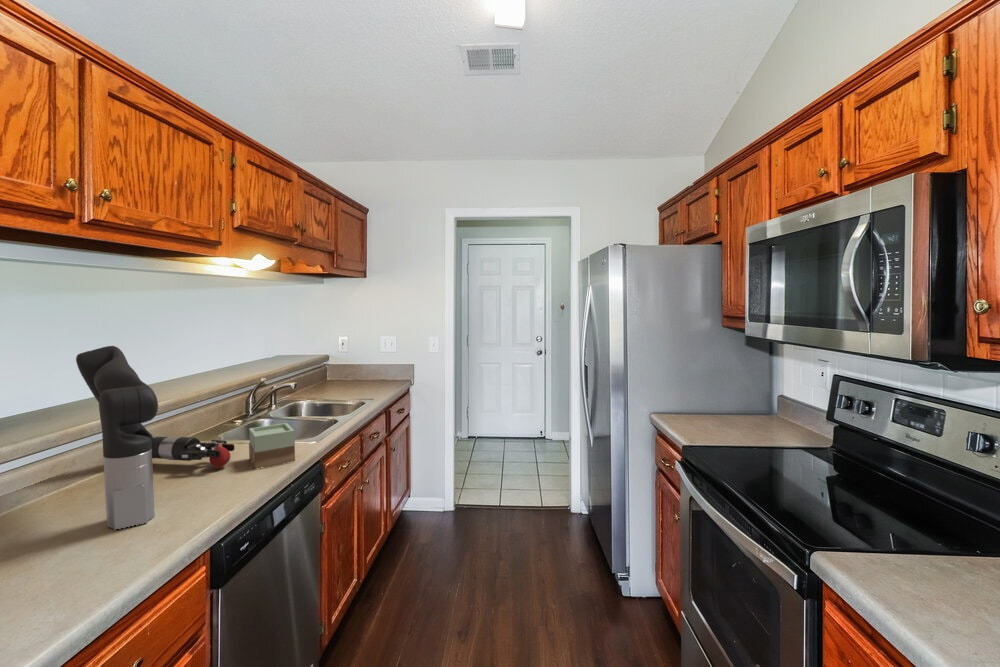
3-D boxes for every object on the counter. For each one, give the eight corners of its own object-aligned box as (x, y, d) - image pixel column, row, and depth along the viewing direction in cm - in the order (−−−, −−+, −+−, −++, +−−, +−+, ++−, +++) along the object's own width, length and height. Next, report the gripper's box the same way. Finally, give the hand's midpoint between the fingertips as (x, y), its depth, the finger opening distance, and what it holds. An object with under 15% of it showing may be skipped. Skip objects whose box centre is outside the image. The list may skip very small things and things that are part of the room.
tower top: (295, 445, 154) (294, 430, 153) (255, 452, 147) (254, 436, 146) (287, 437, 163) (286, 422, 163) (249, 443, 156) (249, 428, 156)
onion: (220, 472, 144) (219, 447, 144) (205, 470, 145) (204, 446, 145) (234, 465, 150) (233, 442, 149) (219, 464, 151) (219, 441, 151)
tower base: (295, 462, 154) (294, 445, 154) (255, 470, 147) (255, 452, 147) (286, 453, 164) (286, 437, 163) (249, 460, 157) (248, 443, 156)
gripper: (160, 444, 142) (209, 446, 140) (196, 431, 156) (241, 433, 154) (161, 467, 142) (210, 469, 140) (197, 452, 156) (242, 454, 154)
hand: (226, 450), depth 147 cm, fingers open, 5 cm apart
